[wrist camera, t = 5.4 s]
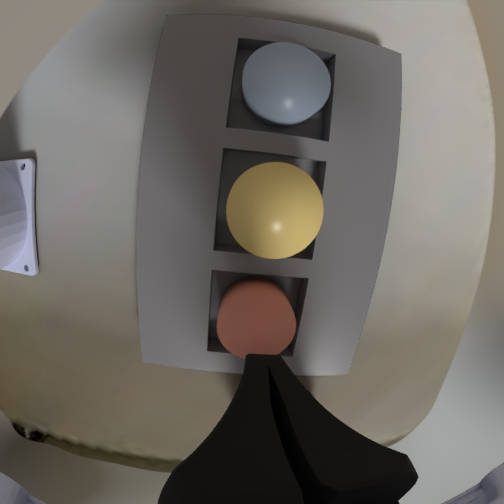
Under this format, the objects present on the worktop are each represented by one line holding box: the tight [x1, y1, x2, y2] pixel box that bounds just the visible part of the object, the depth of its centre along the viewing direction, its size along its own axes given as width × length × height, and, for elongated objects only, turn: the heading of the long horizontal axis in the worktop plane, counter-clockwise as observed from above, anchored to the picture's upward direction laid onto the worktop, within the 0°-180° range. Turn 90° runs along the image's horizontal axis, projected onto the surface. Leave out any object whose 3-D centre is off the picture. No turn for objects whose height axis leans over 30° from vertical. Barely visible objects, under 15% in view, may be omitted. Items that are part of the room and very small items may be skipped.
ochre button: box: [226, 162, 324, 259], centre depth 13 cm, size 4×4×2 cm
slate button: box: [242, 42, 331, 127], centre depth 12 cm, size 4×4×2 cm
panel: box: [136, 14, 402, 376], centre depth 15 cm, size 13×20×2 cm, turn 174°
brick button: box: [217, 276, 296, 359], centre depth 15 cm, size 4×4×2 cm
